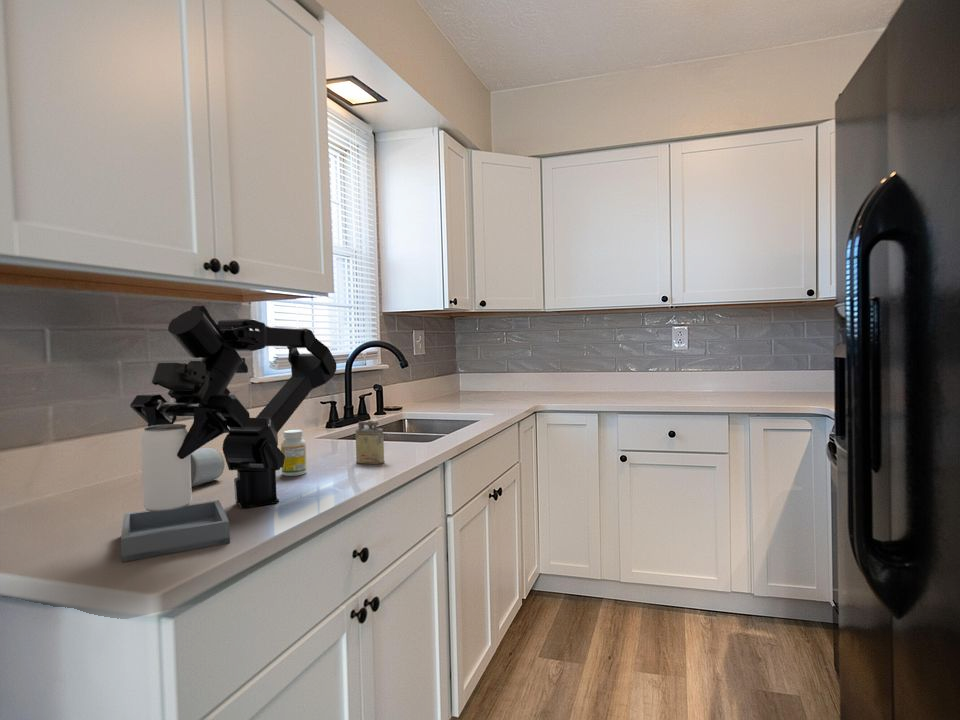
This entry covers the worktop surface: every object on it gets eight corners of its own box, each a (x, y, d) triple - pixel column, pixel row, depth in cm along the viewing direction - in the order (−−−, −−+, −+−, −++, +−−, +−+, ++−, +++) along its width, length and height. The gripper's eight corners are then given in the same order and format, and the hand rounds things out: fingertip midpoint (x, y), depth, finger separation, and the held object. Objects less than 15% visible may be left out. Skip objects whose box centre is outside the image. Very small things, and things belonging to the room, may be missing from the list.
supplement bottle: (301, 476, 127) (300, 432, 127) (277, 476, 128) (276, 433, 127) (310, 470, 133) (308, 429, 132) (287, 470, 133) (285, 429, 133)
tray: (219, 518, 98) (218, 500, 97) (230, 542, 86) (229, 521, 86) (124, 534, 91) (123, 513, 91) (122, 562, 79) (120, 539, 79)
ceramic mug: (228, 480, 125) (226, 444, 125) (197, 489, 118) (195, 451, 118) (191, 477, 129) (189, 443, 129) (159, 487, 122) (157, 450, 121)
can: (201, 501, 90) (199, 424, 89) (168, 514, 84) (165, 431, 83) (167, 498, 92) (165, 422, 91) (132, 510, 86) (129, 429, 85)
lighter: (386, 461, 141) (385, 420, 140) (380, 464, 137) (378, 422, 137) (360, 460, 143) (359, 420, 142) (352, 463, 139) (351, 422, 139)
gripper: (136, 344, 94) (75, 423, 83) (233, 342, 88) (181, 426, 78) (177, 388, 101) (126, 465, 91) (268, 388, 96) (225, 470, 86)
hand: (162, 456), depth 87 cm, fingers closed on can, 6 cm apart
